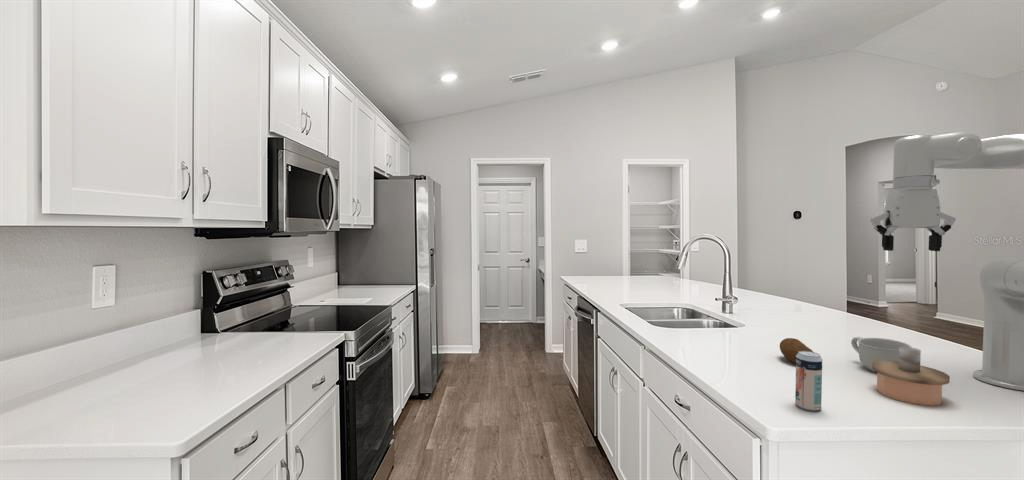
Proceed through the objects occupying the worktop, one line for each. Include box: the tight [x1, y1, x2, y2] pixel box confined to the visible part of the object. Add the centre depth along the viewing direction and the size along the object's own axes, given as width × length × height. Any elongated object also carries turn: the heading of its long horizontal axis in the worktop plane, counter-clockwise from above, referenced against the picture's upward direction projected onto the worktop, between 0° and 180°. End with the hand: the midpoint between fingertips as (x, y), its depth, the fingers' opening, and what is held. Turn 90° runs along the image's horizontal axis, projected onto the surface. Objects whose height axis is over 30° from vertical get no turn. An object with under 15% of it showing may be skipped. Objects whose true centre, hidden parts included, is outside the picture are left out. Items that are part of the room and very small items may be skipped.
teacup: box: [850, 336, 912, 374], centre depth 113 cm, size 14×11×8 cm
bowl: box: [876, 373, 943, 407], centre depth 96 cm, size 11×11×5 cm
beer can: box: [794, 351, 823, 412], centre depth 90 cm, size 5×5×12 cm
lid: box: [872, 346, 951, 386], centre depth 96 cm, size 13×13×6 cm
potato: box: [779, 337, 814, 365], centre depth 119 cm, size 7×12×7 cm, turn 8°
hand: (910, 250), depth 106 cm, fingers open, 9 cm apart
